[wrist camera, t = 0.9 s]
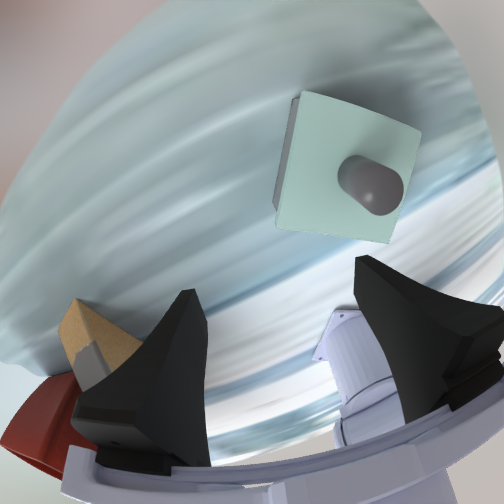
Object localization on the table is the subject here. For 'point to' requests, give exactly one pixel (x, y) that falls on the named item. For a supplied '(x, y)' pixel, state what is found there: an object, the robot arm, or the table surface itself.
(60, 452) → the plant pot
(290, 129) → the box
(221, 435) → the table surface
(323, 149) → the lid
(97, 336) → the sandwich container
